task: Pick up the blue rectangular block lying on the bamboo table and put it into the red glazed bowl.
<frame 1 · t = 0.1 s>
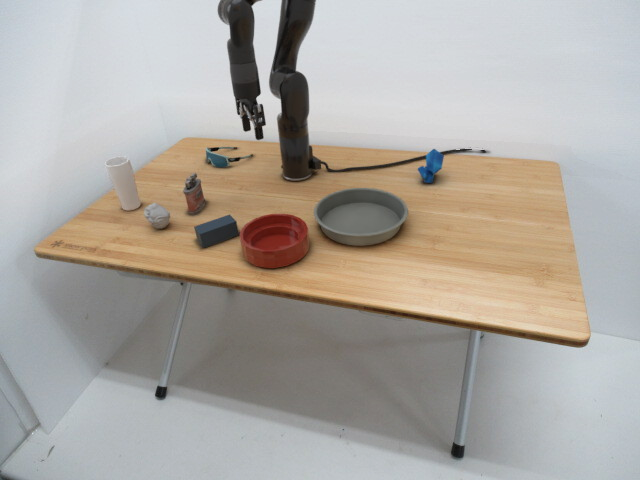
hand: (253, 134, 136), 17 cm above the table, tool pointing down, fingers open, 8 cm apart
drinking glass: (132, 207, 140), on the table
bowl: (276, 249, 117), on the table
crystal: (429, 179, 144), on the table
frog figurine: (161, 227, 129), on the table
sunglasses: (228, 159, 165), on the table
cake pan: (360, 224, 125), on the table
blue rectangular block: (218, 237, 123), on the table
lighter: (197, 208, 137), on the table
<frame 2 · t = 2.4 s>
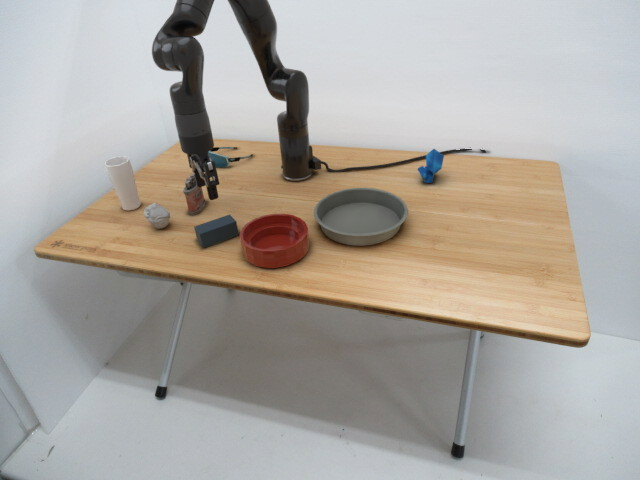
hand: (207, 192, 115), 14 cm above the table, tool pointing down, fingers open, 8 cm apart
nothing on the table moved.
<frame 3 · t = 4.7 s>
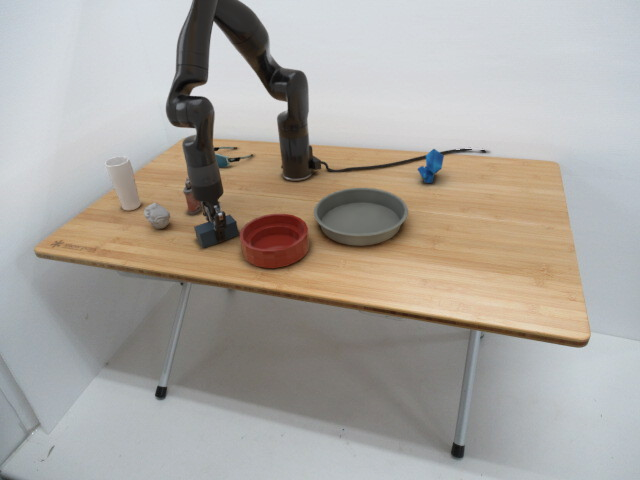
hand: (217, 236, 123), 1 cm above the table, tool pointing down, fingers closed on blue rectangular block, 4 cm apart
blue rectangular block: (218, 237, 123), on the table, touching gripper
everything else where it was.
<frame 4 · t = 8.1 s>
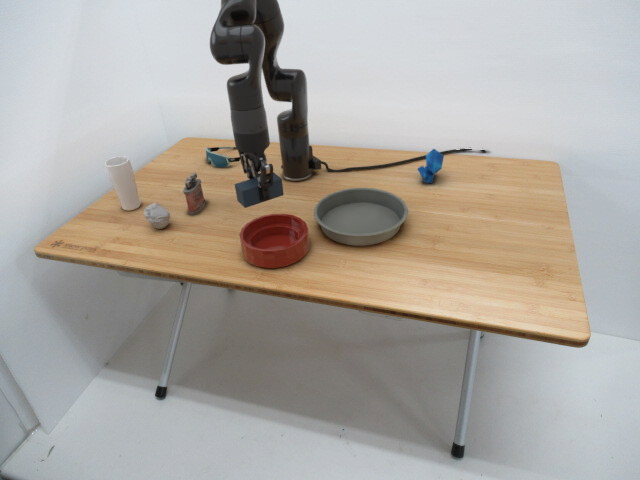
hand: (260, 195, 109), 15 cm above the table, tool pointing down, fingers closed on blue rectangular block, 4 cm apart
blue rectangular block: (260, 197, 109), point 14 cm above the table, touching gripper
everything else where it was.
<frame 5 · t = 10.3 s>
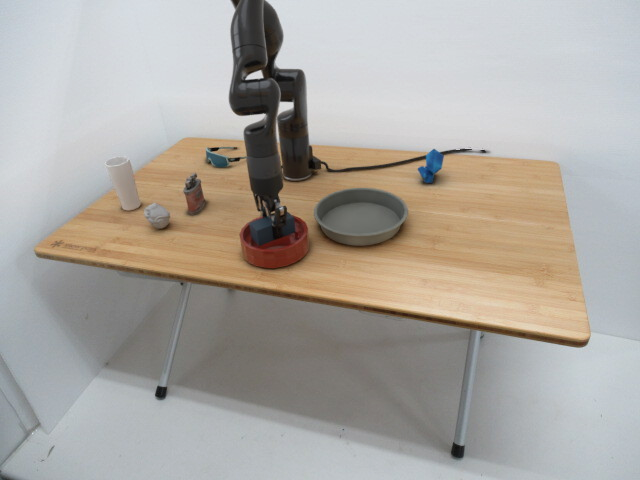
hand: (273, 233, 114), 5 cm above the table, tool pointing down, fingers closed on blue rectangular block, 4 cm apart
blue rectangular block: (273, 235, 114), point 4 cm above the table, touching gripper
everything else where it was.
when the fingers open (1 cm above the table, at t = 11.9 s): blue rectangular block stays where it is, resting on bowl.
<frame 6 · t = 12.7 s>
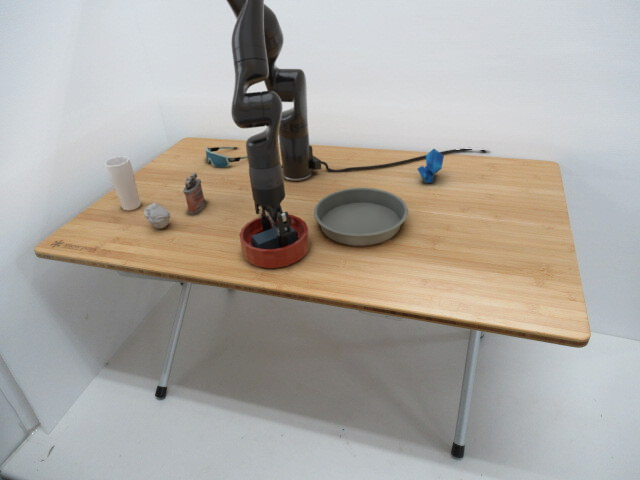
hand: (275, 238, 115), 3 cm above the table, tool pointing down, fingers open, 8 cm apart
blue rectangular block: (275, 247, 117), point 1 cm above the table, touching bowl
everything else where it was.
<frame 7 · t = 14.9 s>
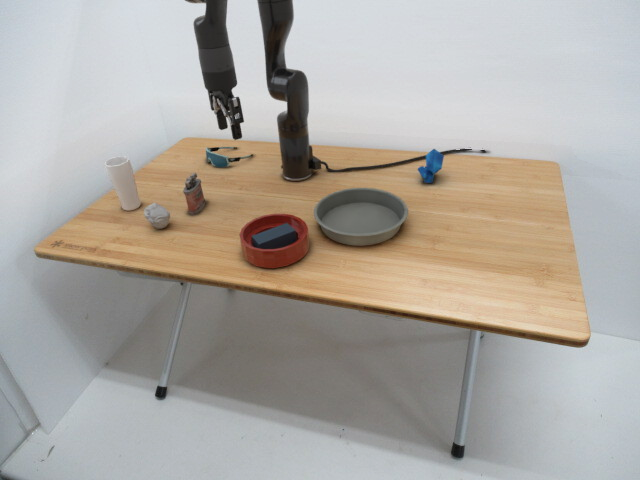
hand: (230, 133, 115), 25 cm above the table, tool pointing down, fingers open, 8 cm apart
nothing on the table moved.
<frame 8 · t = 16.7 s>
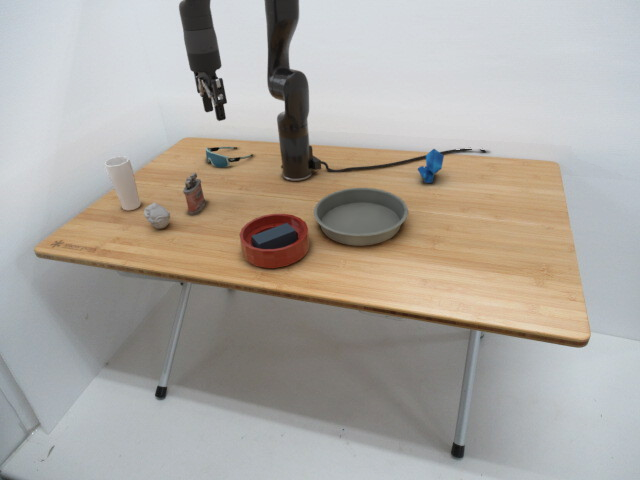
hand: (215, 115, 119), 28 cm above the table, tool pointing down, fingers open, 8 cm apart
nothing on the table moved.
at the end: blue rectangular block inside the target area in the bowl (0.1 cm from its centre), point 0.6 cm above the bowl's base; the gripper is holding nothing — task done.
